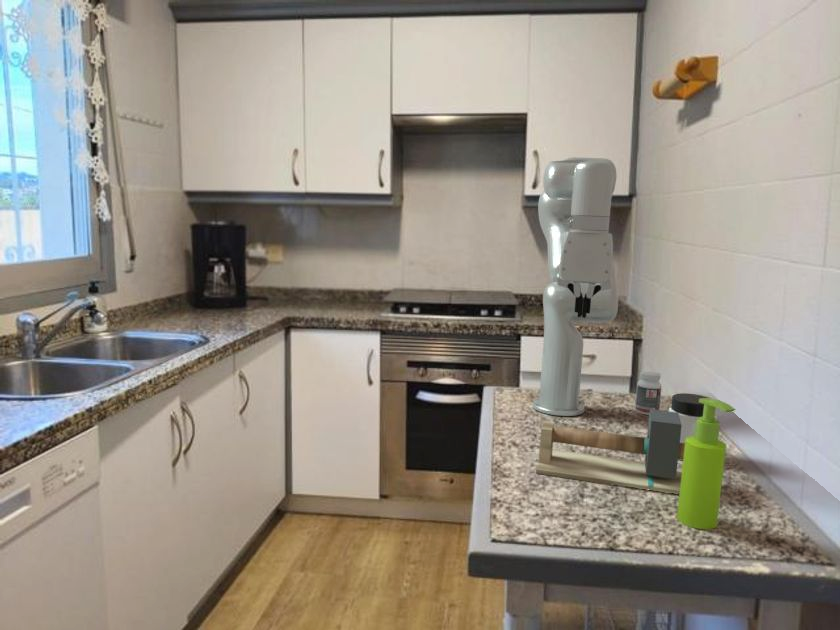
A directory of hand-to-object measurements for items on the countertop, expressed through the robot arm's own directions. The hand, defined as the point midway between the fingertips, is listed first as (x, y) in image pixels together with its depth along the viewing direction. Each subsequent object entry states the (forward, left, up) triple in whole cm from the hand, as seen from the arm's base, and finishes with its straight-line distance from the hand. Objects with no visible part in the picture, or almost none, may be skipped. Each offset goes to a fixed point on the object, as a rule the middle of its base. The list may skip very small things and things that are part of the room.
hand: (581, 316), depth 135 cm
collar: (+13, +17, -25) cm, 33 cm away
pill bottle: (-32, +16, -27) cm, 45 cm away
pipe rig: (+13, +10, -27) cm, 32 cm away
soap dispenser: (+29, +22, -27) cm, 46 cm away
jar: (-3, +23, -27) cm, 36 cm away
